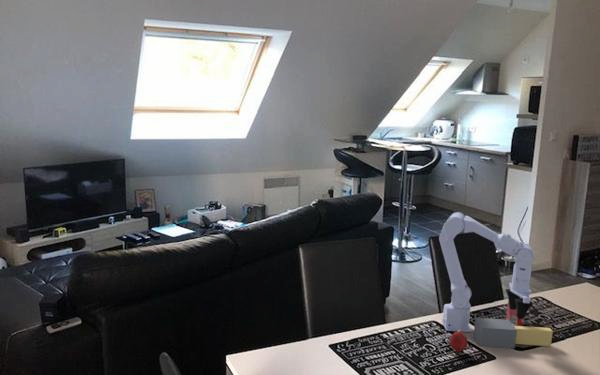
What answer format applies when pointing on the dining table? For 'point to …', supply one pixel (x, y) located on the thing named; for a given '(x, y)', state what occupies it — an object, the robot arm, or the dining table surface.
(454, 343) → the onion
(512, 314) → the beverage can
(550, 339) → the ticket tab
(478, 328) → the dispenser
